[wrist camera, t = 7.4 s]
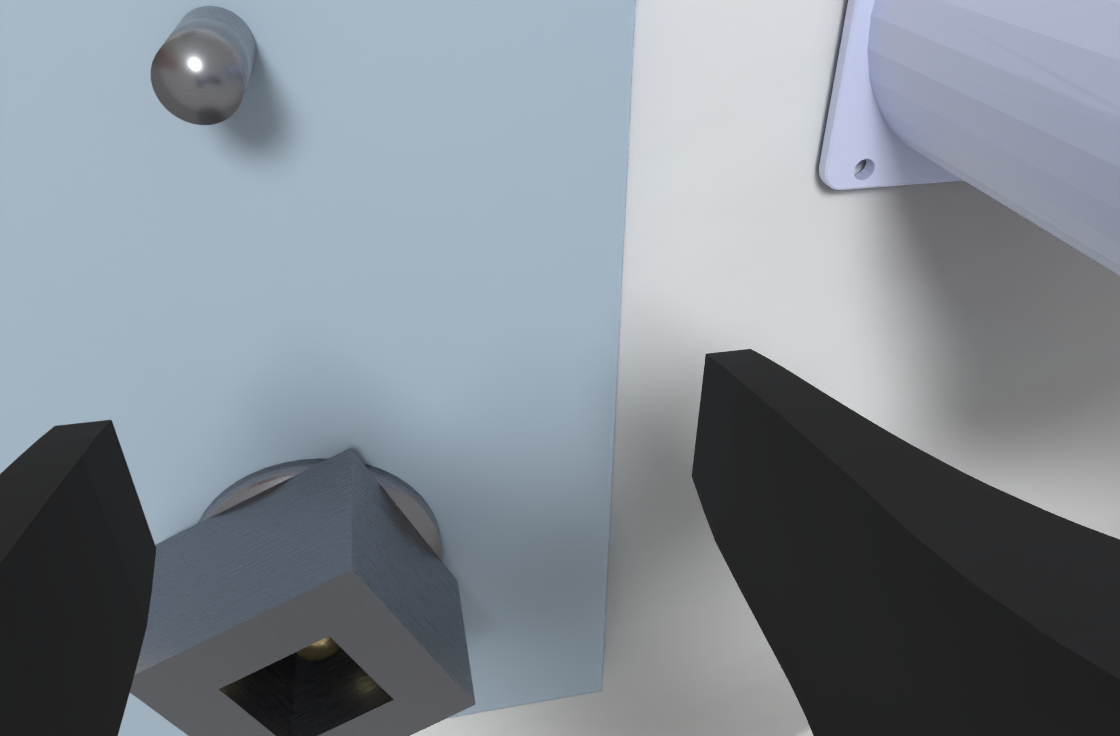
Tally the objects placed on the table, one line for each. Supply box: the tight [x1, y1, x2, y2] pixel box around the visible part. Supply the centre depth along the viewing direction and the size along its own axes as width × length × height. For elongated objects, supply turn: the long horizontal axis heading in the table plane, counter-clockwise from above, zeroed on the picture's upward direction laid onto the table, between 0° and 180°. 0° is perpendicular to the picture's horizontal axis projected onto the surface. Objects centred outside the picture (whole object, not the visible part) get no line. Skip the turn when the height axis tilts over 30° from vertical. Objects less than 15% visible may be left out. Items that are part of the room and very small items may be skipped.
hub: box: [197, 458, 442, 660], centre depth 22 cm, size 6×6×3 cm
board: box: [0, 0, 636, 736], centre depth 21 cm, size 16×26×1 cm, turn 1°
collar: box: [130, 448, 476, 736], centre depth 21 cm, size 6×6×4 cm
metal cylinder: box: [150, 6, 257, 125], centre depth 15 cm, size 1×1×2 cm
